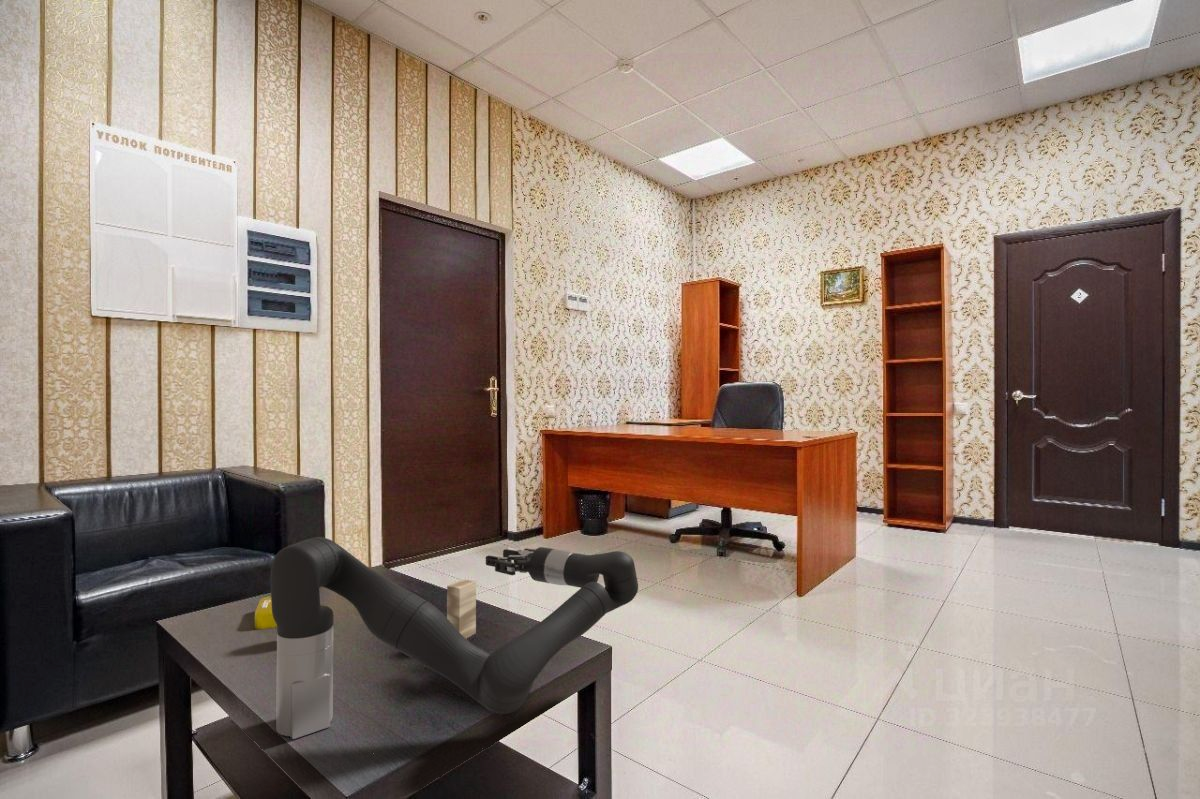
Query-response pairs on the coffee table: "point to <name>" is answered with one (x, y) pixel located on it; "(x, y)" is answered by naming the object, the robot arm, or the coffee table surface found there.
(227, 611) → the coffee table surface
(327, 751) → the coffee table surface
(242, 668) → the coffee table surface
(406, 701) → the coffee table surface
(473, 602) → the birch block
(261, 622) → the element tile
